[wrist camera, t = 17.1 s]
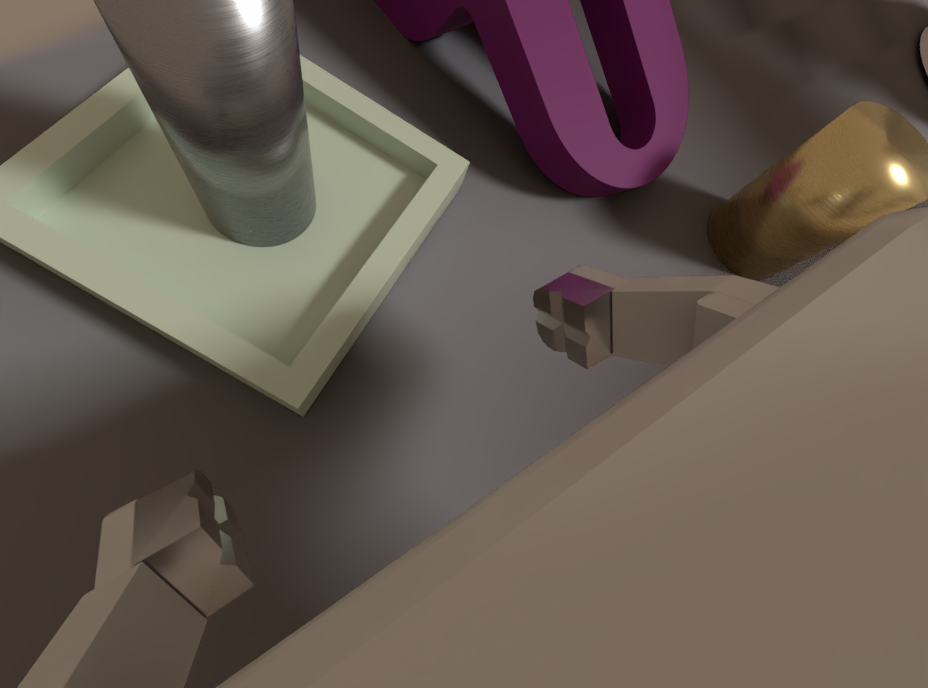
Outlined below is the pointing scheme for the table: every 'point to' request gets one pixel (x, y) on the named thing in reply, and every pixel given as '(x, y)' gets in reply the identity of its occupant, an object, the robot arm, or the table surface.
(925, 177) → the gold metallic cylinder
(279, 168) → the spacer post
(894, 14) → the table surface
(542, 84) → the mounting bracket
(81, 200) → the parts tray
